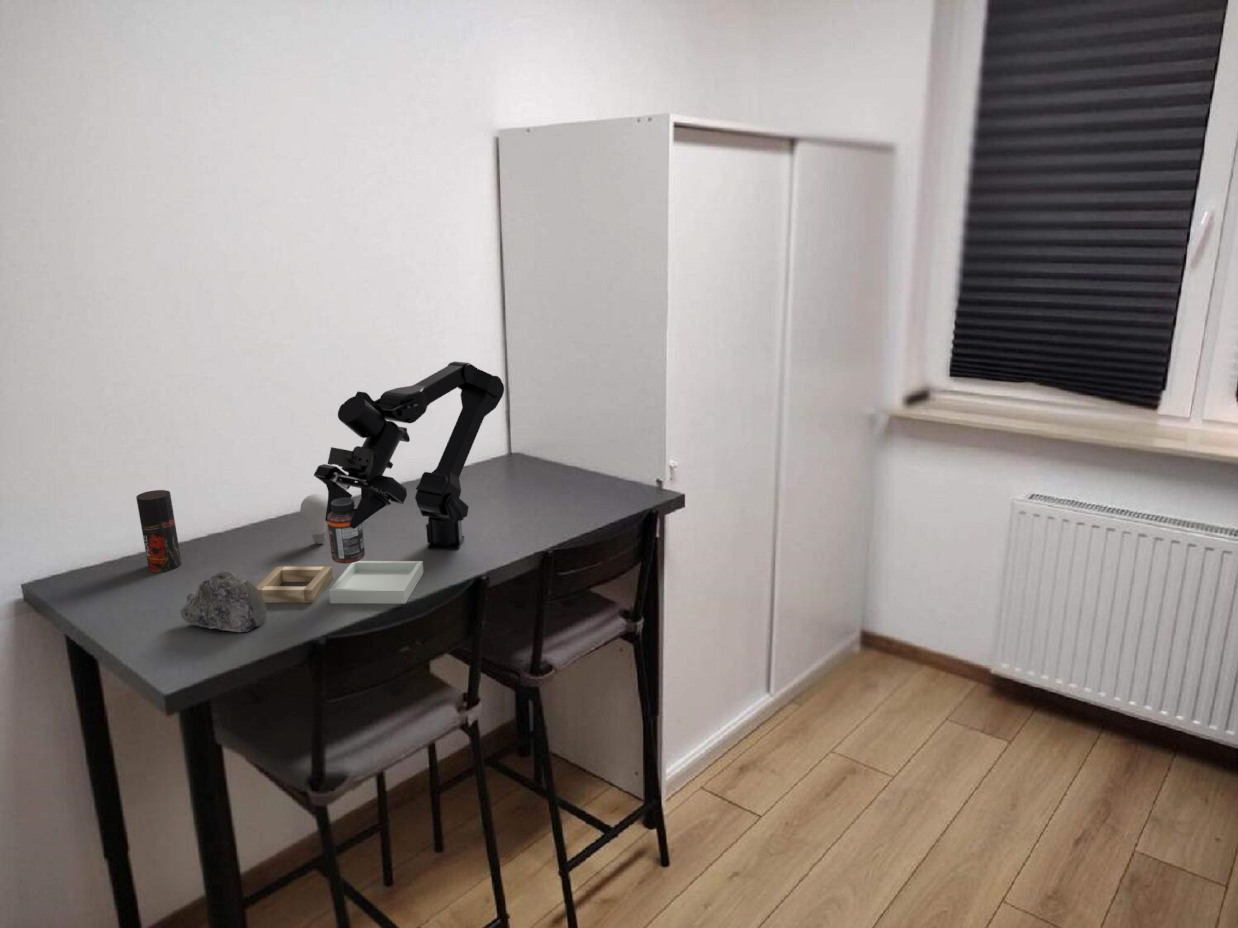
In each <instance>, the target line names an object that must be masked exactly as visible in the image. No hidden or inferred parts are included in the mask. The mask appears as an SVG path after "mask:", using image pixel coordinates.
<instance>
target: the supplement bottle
mask: <svg viewBox="0 0 1238 928" xmlns="http://www.w3.org/2000/svg"><path fill="white" fill-rule="evenodd" d="M331 509H332V510H331V512H330V513H329V514H328V516H327V530H328V538H329V546H330V554H331V559H332V560H333V562H335V563H338V564H342V565H343V564H351V563H354V562H357V561H362V559H364V557H365V554H366V553H365V552H366V551H365V550H366V549H365V539H364V530H363V523H361V524H360V525H359V526H357V527H356V528H355V529H352V528H351V527H350V523H351V520H352V517H353V515H354V513H355V511H356V509H357V508H355V501H354V499H353V498H352V497H351V498H338V499H335V500H333V501H332V502H331Z"/></svg>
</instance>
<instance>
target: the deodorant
mask: <svg viewBox="0 0 1238 928" xmlns="http://www.w3.org/2000/svg"><path fill="white" fill-rule="evenodd" d="M135 498H136V499H135V500H136V504H137V509H138V510H137V511H138V515H139V522H140V527H141V532H142V537H143V545H144V549H145V555H146V556H145V557H146V562H147V567H148V568H147V569H148V571H150V572H153V573H162V572H169V571H172V570H175V569H178V568H179V567H181V565H182V558H181V551H180V546H179V545H180V544H179V539H178V533H177V528H176V527H177V526H176V520H175V515H174V509H173V503H172V502H173V501H172V495H171V492H170V490H166V489H157V490H149V491H148V490H147V491H145V492H141V493H139V494H137V495H136V497H135Z"/></svg>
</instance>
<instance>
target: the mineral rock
mask: <svg viewBox="0 0 1238 928" xmlns="http://www.w3.org/2000/svg"><path fill="white" fill-rule="evenodd" d="M256 587H257V586H256V585H255V584H254V583H252V581H250V580H249V579H248V578H246V577H238V576H236V575H235V574H234V573H233V572H230V571H225V570H224V571H223V570H222V571H220V572H218V573H215V574H214V575H212V576H211V577H210V578H209V579H205V580H203V581H202V582H201V583H200V584H199V585H198V588H197V591H193V592H191V593H189V594H188V595H187V596H186V603H185V605H184V606H183V607H182V608H181V609H180V610H179V612H180V613H179V614H180V616H181V619H183V620H184V621H186V622H185V623H188V624H191V625H194V626H197V627H203V628H206V629H210V630H211V629H212V630H213V629H218V630H220V631H229V632H237V633H242V632H243V633H244V632H247V633H248V632H251V631H252V630H253V629H254V628H255V627H256V628H257V627H261V626H262V624H263V623H264V622H265V620H266V619H267V614H268V612H267V611H268V610H267V609H266V608H267V607H266V603H265V602H264V601H263V599H262V596H261V594H260V592H259V591H258V589H257V588H256Z"/></svg>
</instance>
